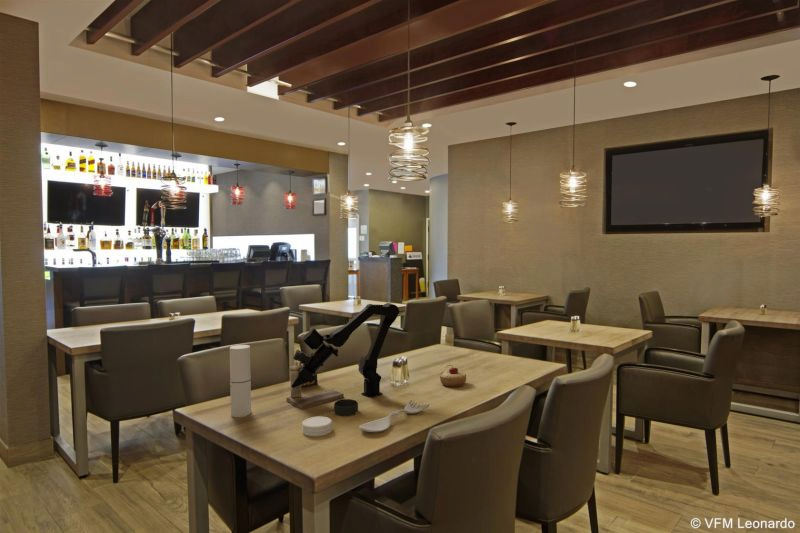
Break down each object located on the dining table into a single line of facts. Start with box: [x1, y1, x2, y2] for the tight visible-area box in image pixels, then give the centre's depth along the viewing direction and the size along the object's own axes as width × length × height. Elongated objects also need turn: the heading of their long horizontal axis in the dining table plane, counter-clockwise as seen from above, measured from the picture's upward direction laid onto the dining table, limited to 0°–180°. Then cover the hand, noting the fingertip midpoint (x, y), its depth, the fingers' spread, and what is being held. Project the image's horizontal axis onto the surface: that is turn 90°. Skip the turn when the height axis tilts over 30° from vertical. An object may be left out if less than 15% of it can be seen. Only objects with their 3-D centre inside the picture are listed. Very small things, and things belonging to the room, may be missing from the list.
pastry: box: [439, 364, 467, 388], centre depth 213 cm, size 12×12×9 cm
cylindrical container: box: [229, 344, 252, 418], centre depth 176 cm, size 7×7×25 cm
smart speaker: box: [333, 398, 359, 417], centre depth 177 cm, size 9×9×4 cm
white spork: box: [358, 399, 431, 433], centre depth 168 cm, size 9×32×4 cm, turn 142°
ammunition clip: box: [294, 361, 319, 389], centre depth 210 cm, size 11×2×12 cm, turn 129°
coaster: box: [301, 416, 333, 437], centre depth 160 cm, size 10×10×4 cm
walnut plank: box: [290, 389, 345, 410], centre depth 190 cm, size 8×20×2 cm, turn 135°
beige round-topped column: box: [286, 365, 307, 404], centre depth 190 cm, size 5×6×14 cm
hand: (292, 385), depth 189 cm, fingers closed on beige round-topped column, 4 cm apart
